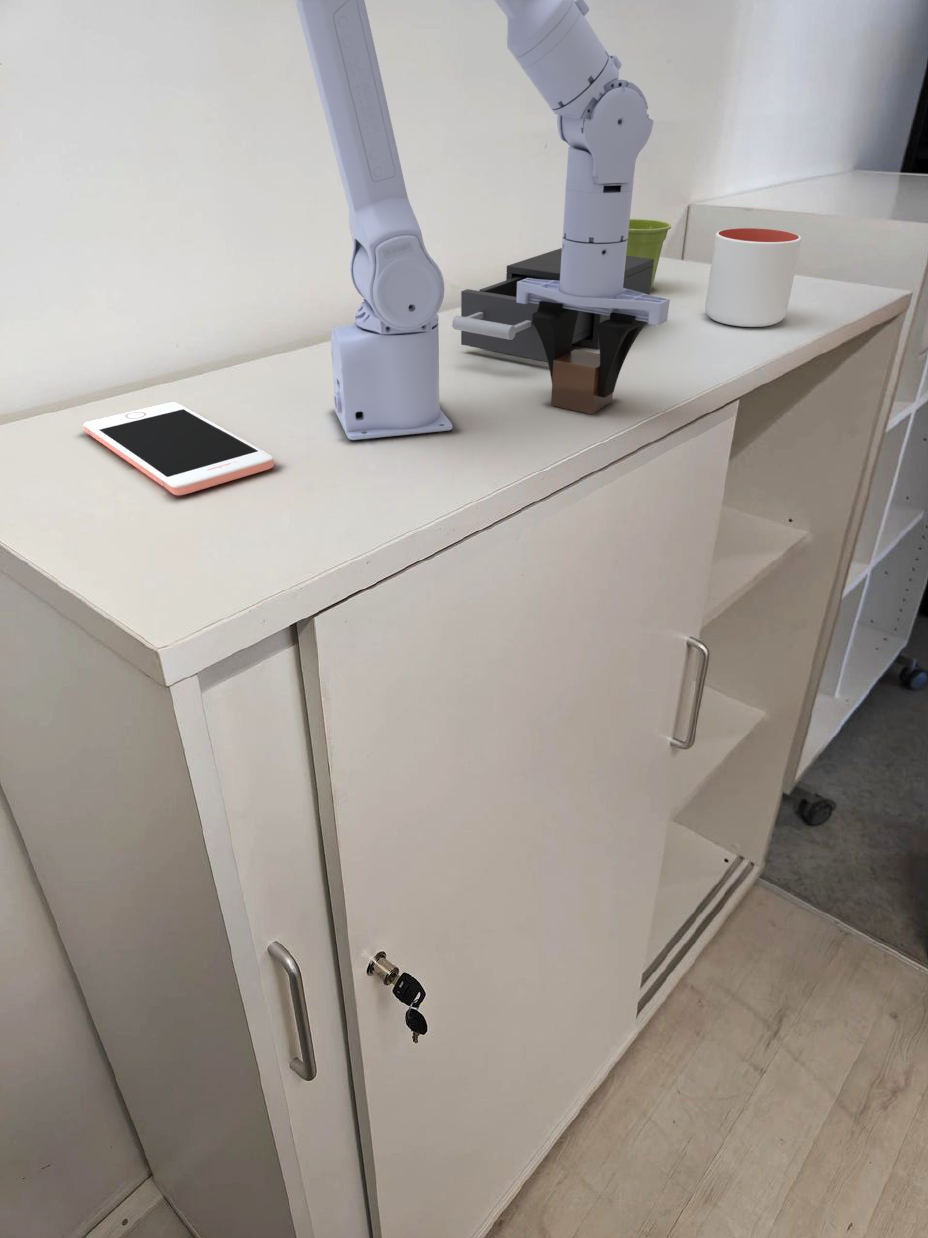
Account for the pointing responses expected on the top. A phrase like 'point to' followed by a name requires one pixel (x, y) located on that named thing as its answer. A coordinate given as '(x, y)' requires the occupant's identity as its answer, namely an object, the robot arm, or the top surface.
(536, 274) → the cabinet
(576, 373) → the block
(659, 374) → the top surface
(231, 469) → the cell phone
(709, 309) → the cup
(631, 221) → the plant pot
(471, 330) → the drawer
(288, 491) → the top surface
